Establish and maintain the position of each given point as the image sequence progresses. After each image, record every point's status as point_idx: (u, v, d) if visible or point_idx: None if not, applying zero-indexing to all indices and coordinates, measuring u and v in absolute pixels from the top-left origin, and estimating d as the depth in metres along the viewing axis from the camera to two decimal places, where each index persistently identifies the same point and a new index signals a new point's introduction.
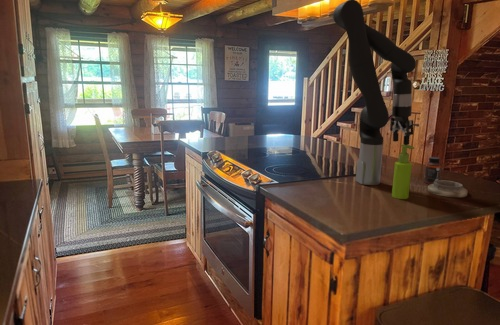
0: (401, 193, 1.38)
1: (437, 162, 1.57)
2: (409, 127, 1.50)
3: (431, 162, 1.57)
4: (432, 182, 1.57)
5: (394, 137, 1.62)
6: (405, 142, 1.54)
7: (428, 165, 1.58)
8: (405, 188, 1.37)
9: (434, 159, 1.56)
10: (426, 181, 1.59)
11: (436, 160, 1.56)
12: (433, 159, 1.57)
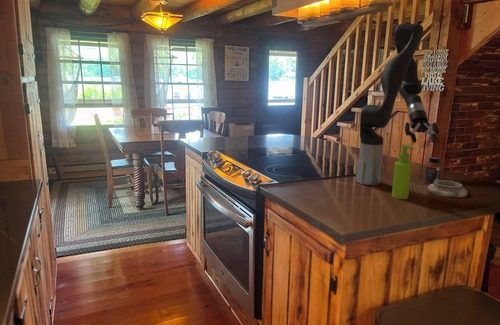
0: (401, 193, 1.38)
1: (437, 162, 1.57)
2: None
3: (431, 162, 1.57)
4: (432, 182, 1.57)
5: None
6: (435, 139, 1.68)
7: (428, 165, 1.58)
8: (405, 188, 1.37)
9: (434, 159, 1.56)
10: (426, 181, 1.59)
11: (436, 160, 1.56)
12: (433, 159, 1.57)
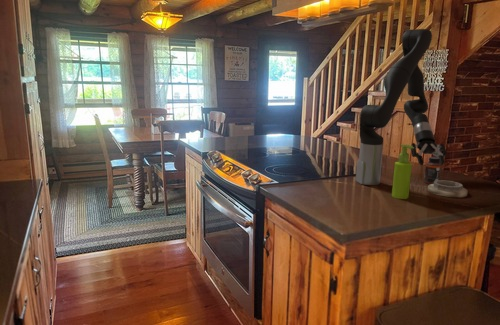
0: (401, 193, 1.38)
1: (437, 162, 1.57)
2: None
3: (431, 162, 1.57)
4: (432, 182, 1.57)
5: None
6: (443, 161, 1.60)
7: (428, 165, 1.58)
8: (405, 188, 1.37)
9: (434, 159, 1.56)
10: (426, 181, 1.59)
11: (436, 160, 1.56)
12: (433, 159, 1.57)
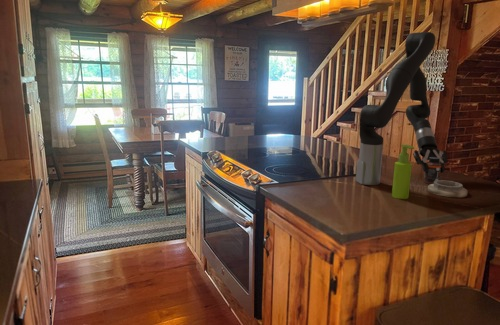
0: (401, 193, 1.38)
1: (437, 162, 1.57)
2: None
3: (431, 162, 1.57)
4: (432, 182, 1.57)
5: None
6: (444, 169, 1.57)
7: (428, 165, 1.58)
8: (405, 188, 1.37)
9: (434, 159, 1.56)
10: (426, 181, 1.59)
11: (436, 160, 1.56)
12: (433, 159, 1.57)
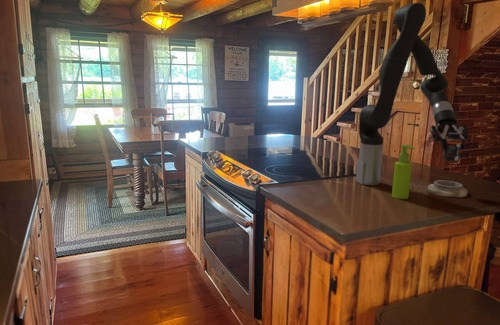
0: (401, 193, 1.38)
1: (457, 138, 1.41)
2: None
3: (451, 137, 1.42)
4: (452, 160, 1.42)
5: None
6: (465, 145, 1.42)
7: (447, 141, 1.42)
8: (405, 188, 1.37)
9: (454, 134, 1.41)
10: (445, 159, 1.44)
11: (456, 135, 1.41)
12: (453, 134, 1.41)
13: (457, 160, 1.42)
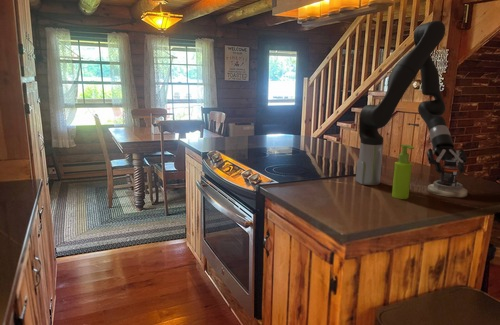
0: (401, 193, 1.38)
1: (454, 165, 1.44)
2: None
3: (448, 165, 1.44)
4: None
5: None
6: (463, 169, 1.44)
7: (444, 169, 1.45)
8: (405, 188, 1.37)
9: (451, 162, 1.43)
10: None
11: (453, 163, 1.43)
12: (449, 162, 1.44)
13: None
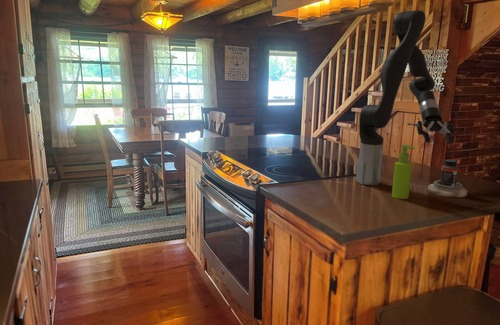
0: (401, 193, 1.38)
1: (454, 165, 1.44)
2: None
3: (448, 165, 1.44)
4: None
5: None
6: (450, 138, 1.55)
7: (444, 168, 1.45)
8: (405, 188, 1.37)
9: (451, 162, 1.44)
10: None
11: (453, 163, 1.43)
12: (450, 162, 1.44)
13: None
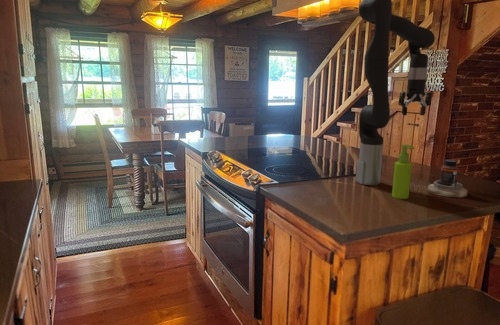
0: (401, 193, 1.38)
1: (454, 165, 1.44)
2: None
3: (448, 165, 1.44)
4: None
5: None
6: (424, 113, 1.67)
7: (444, 168, 1.45)
8: (405, 188, 1.37)
9: (451, 162, 1.44)
10: None
11: (453, 163, 1.43)
12: (449, 162, 1.44)
13: None
